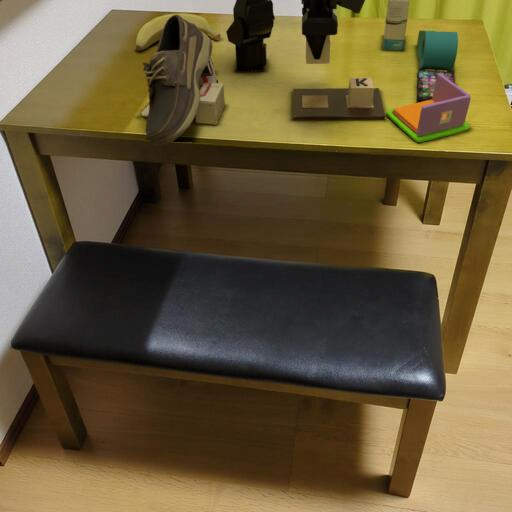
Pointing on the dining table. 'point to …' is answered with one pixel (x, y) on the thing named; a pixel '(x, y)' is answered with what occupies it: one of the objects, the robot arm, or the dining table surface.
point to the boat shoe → (175, 79)
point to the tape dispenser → (437, 49)
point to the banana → (155, 27)
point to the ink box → (395, 24)
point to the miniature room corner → (434, 113)
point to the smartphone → (430, 81)
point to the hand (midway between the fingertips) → (316, 54)
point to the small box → (210, 103)
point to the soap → (146, 111)
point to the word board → (333, 105)
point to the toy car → (208, 74)
